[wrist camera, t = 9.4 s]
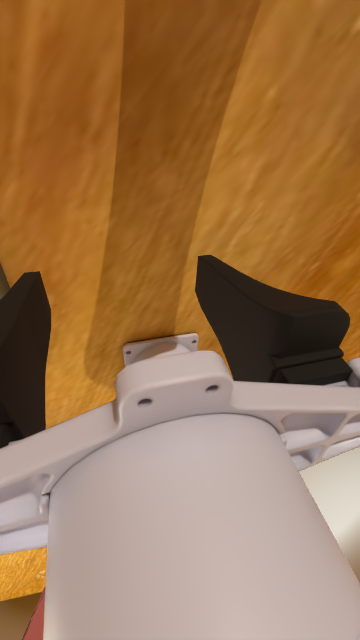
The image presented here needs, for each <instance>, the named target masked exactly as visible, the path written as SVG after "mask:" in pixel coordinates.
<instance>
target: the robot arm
mask: <svg viewBox="0 0 360 640" xmlns="http://www.w3.org/2000/svg"><path fill="white" fill-rule="evenodd" d="M195 292H196V295H197V298H198V301H199V303H200V306H201V308H202V310H203V312H204V314H205V316H206V318H207V320H208V322H209V323H210V325H211V327H212V329H213V331H214V333H215V334H216V336H217V338H218V340H219V342H220V344H221V347H222V349H223V352H224V354H225V357H226V359H227V362H228V365H229V367H230V370H231V373H232V376H233V379H234V381H233V380H232V377H231V375H230V373H229V371H228V369H227V367H226V365H225V363H224V361H223V359H222V357H221V356H220V355H219V354H217V353H216V352H214V351H204V350H199V351H197V348H198V339H199V337H198V334H196V333H191V334H185V335H178V336H172V337H165V338H159V339H153V340H146V341H140V342H133V343H127V344H125V345H124V346H123V355H124V364H125V368H124V369H123V370H122V371H120V372H119V373H118V374H117V378H116V382H115V388H116V399H115V400H114V401H112V402H109V403H107V404H105V405H102V406H100V407H98V408H95V409H93V410H90V411H88V412H86V413H83V414H81V415H79V416H76V417H74V418H72V419H69V420H67V421H65V422H62V423H60V424H57V425H55V426H53V427H50V428H48V429H46V423H45V371H46V362H47V355H48V347H49V340H50V332H51V308H50V305H49V301H48V298H47V295H46V291H45V288H44V284H43V281H42V278H41V274H40V271H39V272H28V273H24V274H23V275H22V276H21V277H20V278H19V280H18V281H17V282H16V283H15V284H14V285H13V286H12V288H11V289H10V290H9V291H8V292H7V293H6V294H5V295H4V296H3V297H2V298H1V299H0V555H3V554H9V553H15V552H20V551H26V550H32V549H37V548H43V547H47V566H46V588H45V610H44V632H43V640H360V584H359V581H358V580H357V578H356V576H355V574H354V572H353V570H352V569H351V567H350V565H349V563H348V561H347V560H346V558H345V556H344V554H343V552H342V550H341V549H340V547H339V545H338V543H337V541H336V539H335V538H334V536H333V534H332V532H331V530H330V528H329V526H328V525H327V523H326V521H325V519H324V518H323V515H322V514H321V512H320V510H319V508H318V506H317V504H316V503H315V501H314V499H313V497H312V495H311V494H310V492H309V490H308V488H307V486H306V485H305V482H304V481H303V479H302V477H301V475H300V473H299V471H301V470H304V469H306V468H308V467H311V466H313V465H316V464H318V463H320V462H322V461H325V460H328V459H330V458H332V457H335V456H337V455H339V454H342V453H345V452H347V451H350V450H352V449H355V448H358V447H360V357H358V358H354V359H351V360H350V361H348V362H347V363H346V362H345V361H344V360H343V359H342V357H343V355H344V353H343V351H342V350H341V349H340V348H339V346H340V344H341V342H342V340H343V338H344V336H345V334H346V332H347V330H348V328H349V325H350V317H349V314H348V313H347V312H346V311H345V310H344V309H343V308H342V307H341V306H340V305H339V304H337V303H336V302H335V301H328V300H321V299H315V298H310V297H305V296H300V295H296V294H292V293H289V292H286V291H282V290H279V289H276V288H273V287H271V286H268V285H266V284H263V283H261V282H259V281H257V280H254V279H252V278H251V277H249V276H247V275H245V274H243V273H241V272H239V271H237V270H236V269H234V268H232V267H231V266H229V265H227V264H226V263H224V262H222V261H221V260H219V259H217V258H216V257H214V256H212V255H203V256H198V264H197V276H196V287H195ZM127 351H129V352H127Z"/></svg>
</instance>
